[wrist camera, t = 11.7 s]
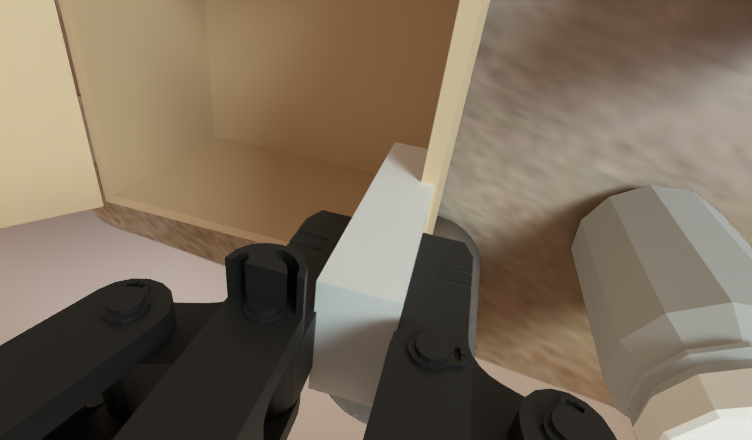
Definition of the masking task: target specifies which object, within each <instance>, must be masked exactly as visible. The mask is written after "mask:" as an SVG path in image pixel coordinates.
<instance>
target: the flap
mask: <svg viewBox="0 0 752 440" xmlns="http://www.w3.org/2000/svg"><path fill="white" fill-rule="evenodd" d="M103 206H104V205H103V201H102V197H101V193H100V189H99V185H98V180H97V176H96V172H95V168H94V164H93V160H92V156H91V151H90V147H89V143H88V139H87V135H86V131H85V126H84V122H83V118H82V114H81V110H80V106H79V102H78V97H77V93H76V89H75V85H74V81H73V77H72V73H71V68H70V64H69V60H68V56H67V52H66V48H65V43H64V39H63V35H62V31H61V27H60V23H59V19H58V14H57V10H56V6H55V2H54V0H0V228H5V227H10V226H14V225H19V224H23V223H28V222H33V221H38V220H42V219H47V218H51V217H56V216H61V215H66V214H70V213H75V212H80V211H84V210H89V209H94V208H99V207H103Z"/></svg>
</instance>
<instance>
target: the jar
mask: <svg viewBox="0 0 752 440" xmlns="http://www.w3.org/2000/svg"><path fill="white" fill-rule="evenodd" d="M571 252H572V256H573V259H574V263H575V267H576V271H577V275H578V279H579V283H580V287H581V291H582V295H583V299H584V303H585V307H586V311H587V315H588V319H589V323H590V326H591V330H592V334H593V338H594V342H595V346H596V350H597V354H598V358H599V362H600V366H601V370H602V374H603V377H604V380H605V383H606V385H607V388H608V391H609V394H610V396H611V399H612V402H613V405H614V407H615V408H616V409H617V410H619V411H620V412H621V413H623V414H624V415H626V416H627V417H629V418H630V420H631V422H632V425H633V430H634V433H635V437H636V440H752V247H751V246H750V245H749V244H748V243H747V242H746V241H745V240H744V239H743V237H742V236H741V235H740V234H739V233H738V232H737V231H736V230H735V229H734V228H733V226H732V225H731V224H730V223H729V222H728V221H727V220H726V219H725V218H724V217H723V215H722V214H721V213H720V212H718V211H717V210H716V209H715V208H713V207H712V206H711V205H709V204H708V203H707V202H706V201H704V200H703V199H702V198H701V197H699V196H698V195H697V194H695V193H694V192H693V191H689V190H682V189H675V188H668V187H661V186H654V185H649V186H645V187H642V188H638V189H634V190H631V191H627V192H624V193H620V194H617V195H613V196H609V197H608V198H607V199H606V200H605V201H603V202H602V203H601V204H600V205H599V206H597V207H596V208H595V209H594V210H593V211H591V212H590V213H589V214H588V215H587V216H585V217H584V218H583V219H582V220H581V221H580V224H579V227H578V230H577V233H576V235H575V238H574V241H573V244H572V247H571Z"/></svg>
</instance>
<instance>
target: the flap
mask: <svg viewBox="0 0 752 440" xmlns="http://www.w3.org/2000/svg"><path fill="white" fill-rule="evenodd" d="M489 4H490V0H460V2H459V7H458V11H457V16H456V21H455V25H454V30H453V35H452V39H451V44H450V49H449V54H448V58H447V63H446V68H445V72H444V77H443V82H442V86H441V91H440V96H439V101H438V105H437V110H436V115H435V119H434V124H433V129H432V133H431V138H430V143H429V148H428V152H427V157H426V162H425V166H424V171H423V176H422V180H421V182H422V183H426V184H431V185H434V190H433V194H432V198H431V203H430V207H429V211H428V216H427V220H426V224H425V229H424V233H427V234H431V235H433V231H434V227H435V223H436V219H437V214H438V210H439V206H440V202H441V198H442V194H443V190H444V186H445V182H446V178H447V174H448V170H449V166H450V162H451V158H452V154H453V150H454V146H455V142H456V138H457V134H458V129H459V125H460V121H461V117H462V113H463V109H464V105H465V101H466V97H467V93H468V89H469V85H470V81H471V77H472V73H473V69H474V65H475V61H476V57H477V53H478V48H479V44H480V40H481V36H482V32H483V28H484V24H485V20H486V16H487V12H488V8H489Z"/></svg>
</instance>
